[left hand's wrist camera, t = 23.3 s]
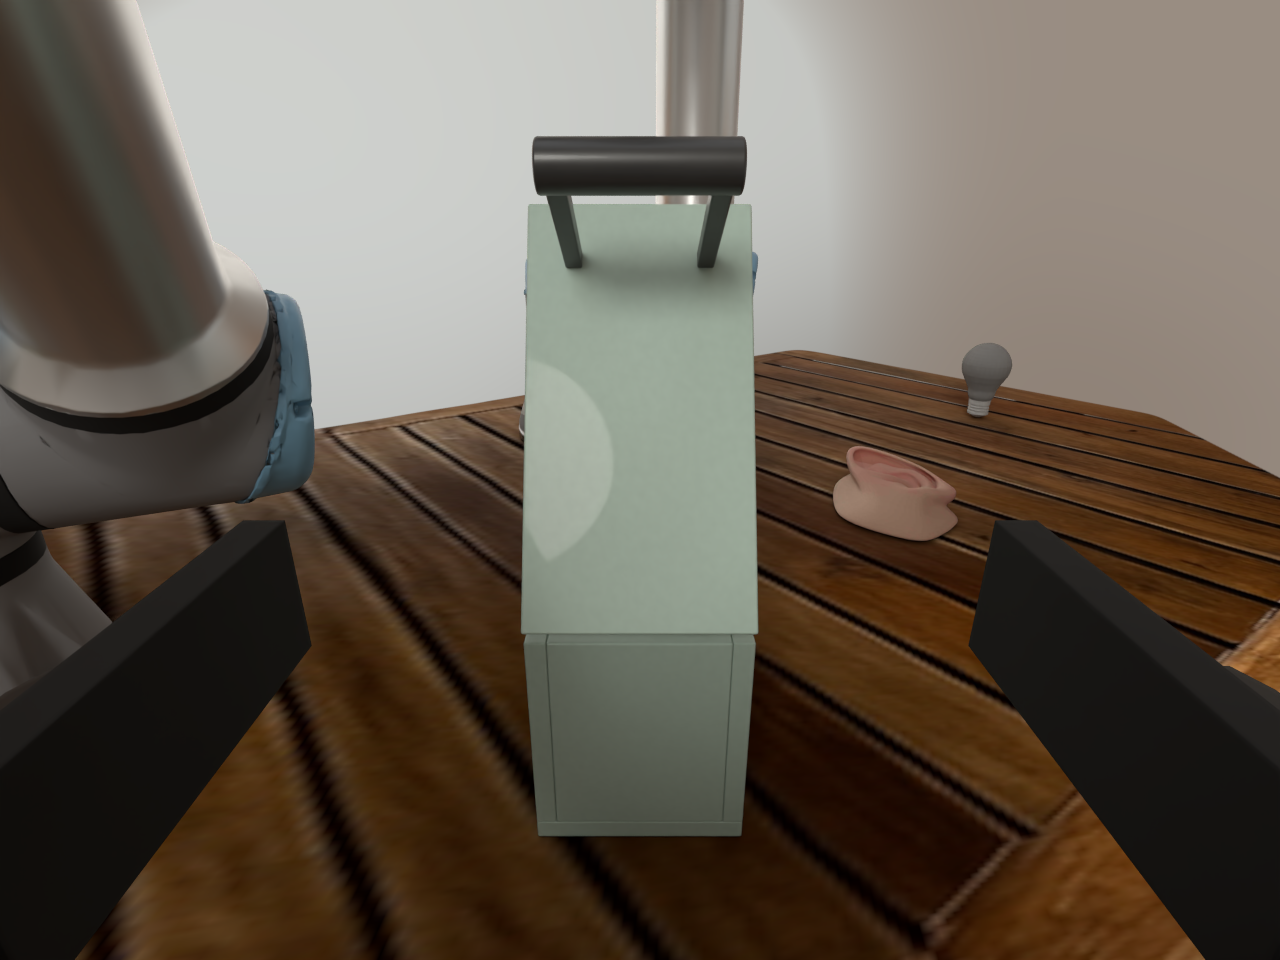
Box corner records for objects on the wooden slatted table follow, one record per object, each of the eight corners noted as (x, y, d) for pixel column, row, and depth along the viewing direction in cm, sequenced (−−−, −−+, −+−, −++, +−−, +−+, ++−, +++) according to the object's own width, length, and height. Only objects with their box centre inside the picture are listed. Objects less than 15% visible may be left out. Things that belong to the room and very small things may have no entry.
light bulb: (960, 421, 91) (974, 346, 87) (947, 409, 96) (960, 338, 93) (1007, 423, 90) (1023, 348, 86) (991, 410, 96) (1006, 339, 92)
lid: (531, 213, 29) (485, 73, 20) (748, 213, 29) (794, 73, 20) (524, 631, 27) (470, 672, 19) (754, 631, 27) (807, 672, 19)
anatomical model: (965, 505, 55) (822, 484, 59) (957, 549, 57) (818, 525, 61) (964, 455, 66) (844, 440, 71) (957, 492, 68) (840, 476, 72)
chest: (572, 627, 46) (566, 485, 42) (707, 627, 46) (713, 485, 42) (537, 836, 31) (523, 643, 27) (741, 836, 31) (755, 643, 27)
